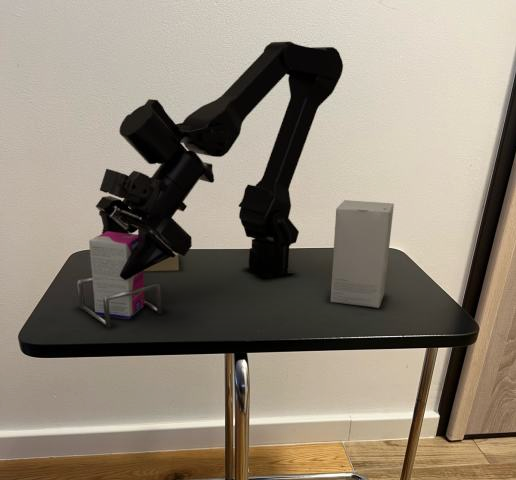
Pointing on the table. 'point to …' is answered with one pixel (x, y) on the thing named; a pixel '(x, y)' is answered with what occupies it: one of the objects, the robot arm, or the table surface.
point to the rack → (106, 298)
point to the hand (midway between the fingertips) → (108, 270)
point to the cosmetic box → (361, 252)
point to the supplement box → (115, 274)
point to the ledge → (166, 265)
